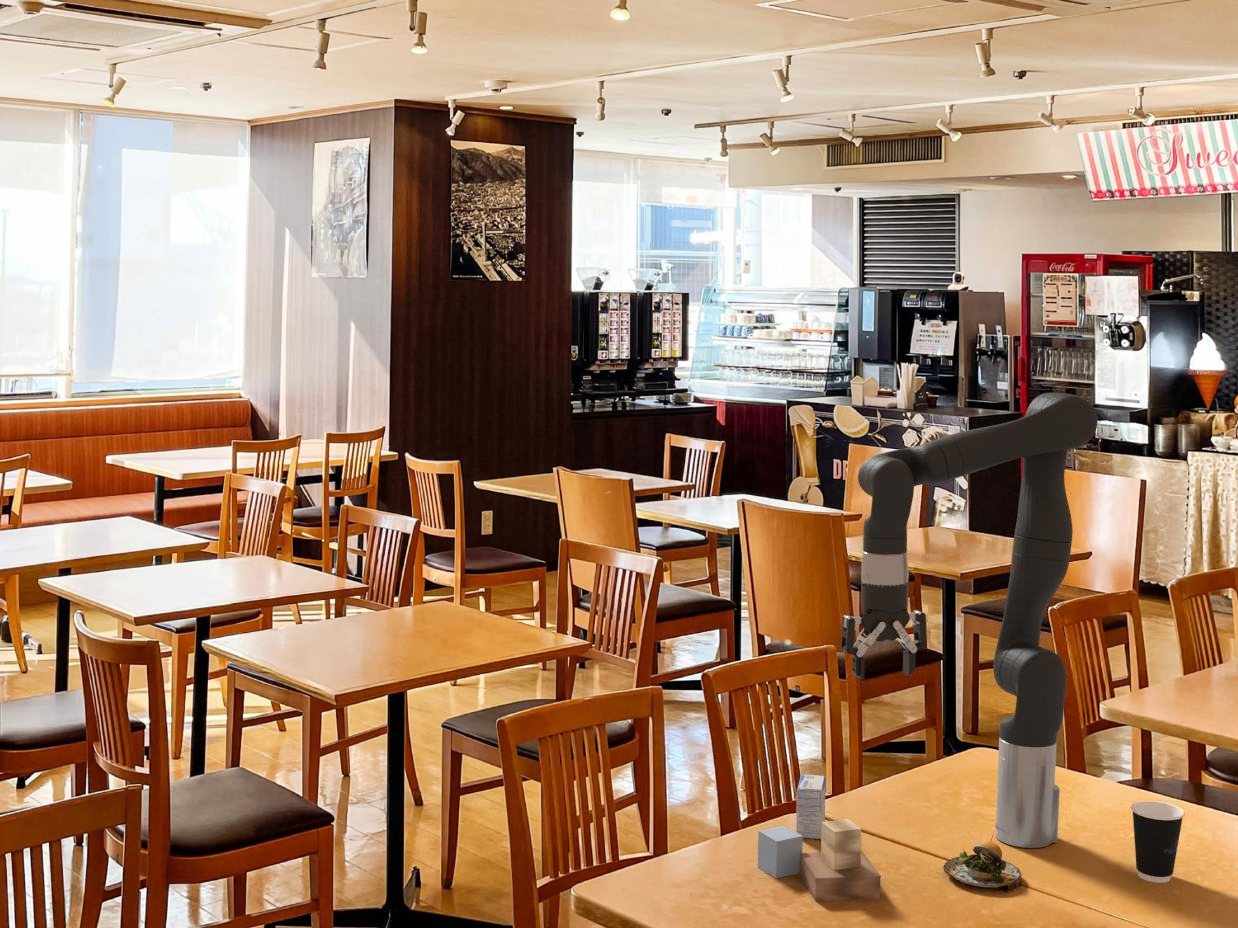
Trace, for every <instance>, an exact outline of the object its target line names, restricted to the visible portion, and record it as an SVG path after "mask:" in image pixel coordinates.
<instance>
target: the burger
mask: <svg viewBox="0 0 1238 928" xmlns="http://www.w3.org/2000/svg"><path fill="white" fill-rule="evenodd" d="M994 833H995V830H993V832H992V836H991V840H986V841H981V842H978V843H976V844H975V845H974V846H973V849H972V851H973V853H974V854H970V855H969V854H968V853H967V852H966V851H965V849H963V850H962V851H963V852H962V853H961V852H959V854H960V855H959V856H956V857H953V858H951V859H949V860H946V862H945V863H944V865H943V871H944V872H946V873H947V874H948V875H949V876H951V877H952V878H954V879H955V880H957V881H960V883H961V882H962V883H964V884H967V885H971V886H974V887H981V888H994V889H995V888H1002V887H1006V886H1007V889H1006V891H1007V893H1011V892H1013V893H1014V891H1015V890H1018V886H1019V884H1020V886H1022V883H1023V882H1022V872H1021V870H1020V869H1019V868H1018V867H1017V866H1016V865H1014V864H1012V863H1011V862H1009V861H1007V860H1003V859H1002V858H1003V852H1002V849H1001V847H1000V846H999V844H996V843H995V842H993V840H992V839H993V837H994Z"/></svg>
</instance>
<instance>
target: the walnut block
mask: <svg viewBox="0 0 1238 928" xmlns="http://www.w3.org/2000/svg"><path fill="white" fill-rule="evenodd" d="M798 875H799V877H800V879H801V880H802V882H803V883H804V885H805V887H806V889H807V890H808V892H809V894H810V895H811V897H812V898H813V900H814V901H815V902H829V901H852V900H853V901H858V900H859V901H860V900H861V901H862V900H881V882H882V881H881V879H882V878H881V877H882V876H881V874H880V873H879V872H878V870H877V869H876V868H875V866H874V865H873V864H872V862H871V861H870V860H869V858H868V857H867V855H866V854H865V853H864V851H863V850H861V867H855V868H847V869H839V870H833V869H832V868H831V867H830V866H828V865H827V864H826V863H825V862H823V861H822V860H821V851H819V852H818V851H817V852H802V853H800V871H799V873H798Z"/></svg>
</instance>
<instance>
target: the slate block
mask: <svg viewBox="0 0 1238 928" xmlns="http://www.w3.org/2000/svg"><path fill="white" fill-rule="evenodd" d="M757 833H758V837H757V838H758V839H757V868H758V869H760V870H762V871H763V872H764V873H766V874H768V875H770V876H772V878H775V879H779V878H783V877H788V876H793V875H798V874H799V871H800V853H803V845H804V844H803V842H804V841H803V840H804V838H803V836H802V835H800V834H798V833H796V830H795V831H794V830H793V829H791V828H790V827H788V826H785V825H782V826H778V827H777V826H776V827H773V828H766V829H762V830H758V831H757Z"/></svg>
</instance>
